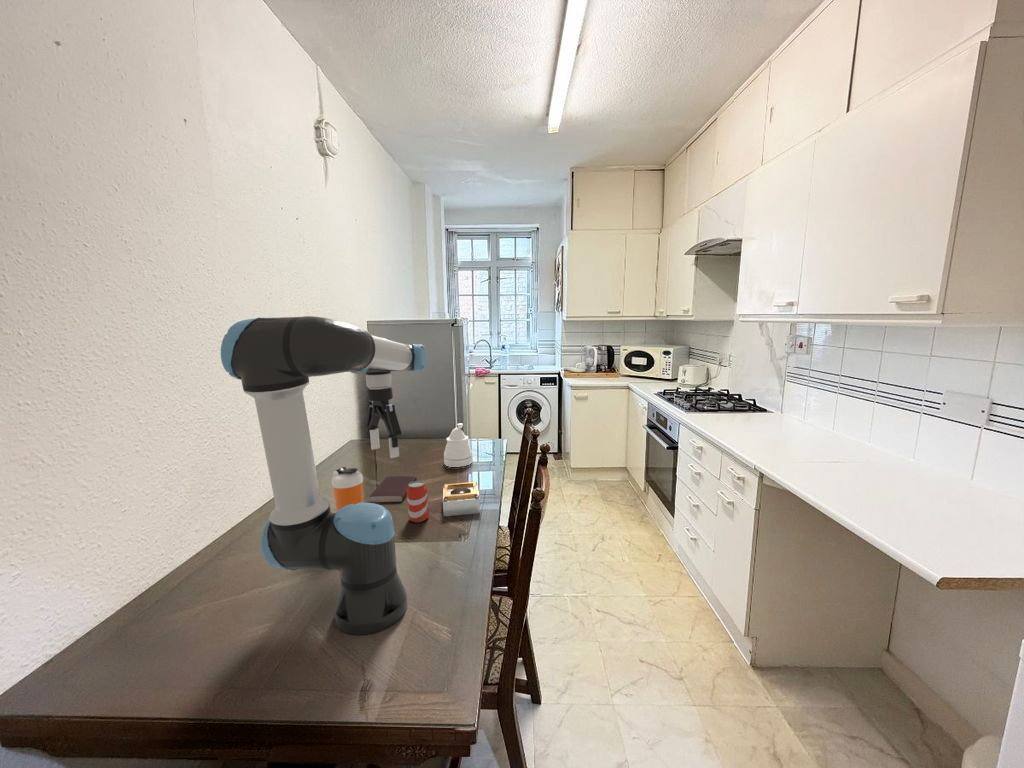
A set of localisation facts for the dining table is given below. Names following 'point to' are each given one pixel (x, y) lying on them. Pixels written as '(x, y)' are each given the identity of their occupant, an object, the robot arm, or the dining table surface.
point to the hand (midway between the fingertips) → (384, 452)
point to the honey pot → (457, 449)
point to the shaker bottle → (347, 487)
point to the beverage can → (417, 501)
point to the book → (392, 489)
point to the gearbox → (461, 499)
